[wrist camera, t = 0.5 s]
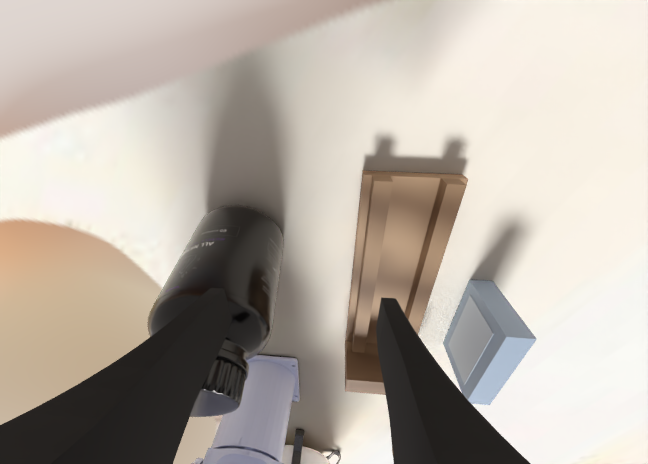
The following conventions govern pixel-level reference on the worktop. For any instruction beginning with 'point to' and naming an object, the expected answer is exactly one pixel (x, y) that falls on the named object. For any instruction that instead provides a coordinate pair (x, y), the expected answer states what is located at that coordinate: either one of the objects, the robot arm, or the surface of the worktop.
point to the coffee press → (304, 453)
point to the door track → (395, 259)
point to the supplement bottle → (227, 295)
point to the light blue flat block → (485, 341)
